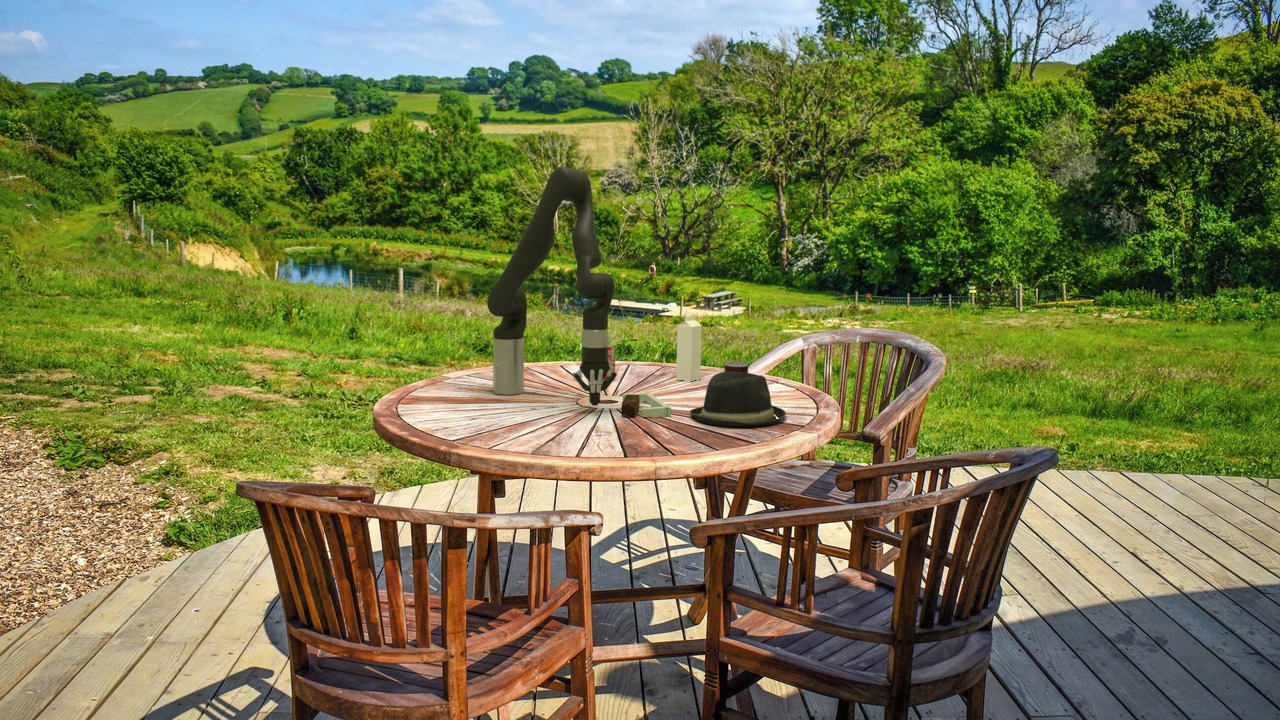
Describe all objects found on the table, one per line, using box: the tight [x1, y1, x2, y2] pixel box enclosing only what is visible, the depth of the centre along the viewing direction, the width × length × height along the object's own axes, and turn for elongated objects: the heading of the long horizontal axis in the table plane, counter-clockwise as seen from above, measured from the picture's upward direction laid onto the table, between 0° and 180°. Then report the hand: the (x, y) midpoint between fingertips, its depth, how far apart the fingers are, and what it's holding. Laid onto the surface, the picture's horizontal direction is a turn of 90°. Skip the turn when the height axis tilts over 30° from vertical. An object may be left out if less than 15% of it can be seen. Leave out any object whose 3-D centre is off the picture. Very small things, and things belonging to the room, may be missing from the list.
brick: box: [620, 393, 641, 418], centre depth 241 cm, size 11×4×5 cm, turn 173°
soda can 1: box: [602, 343, 616, 383], centre depth 289 cm, size 7×7×12 cm
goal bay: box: [622, 392, 672, 418], centre depth 247 cm, size 8×21×2 cm, turn 16°
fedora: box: [689, 371, 786, 428], centre depth 237 cm, size 25×27×12 cm
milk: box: [675, 315, 703, 382], centre depth 291 cm, size 6×6×22 cm
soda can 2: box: [723, 360, 749, 373], centre depth 257 cm, size 7×7×12 cm
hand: (594, 405), depth 243 cm, fingers closed
